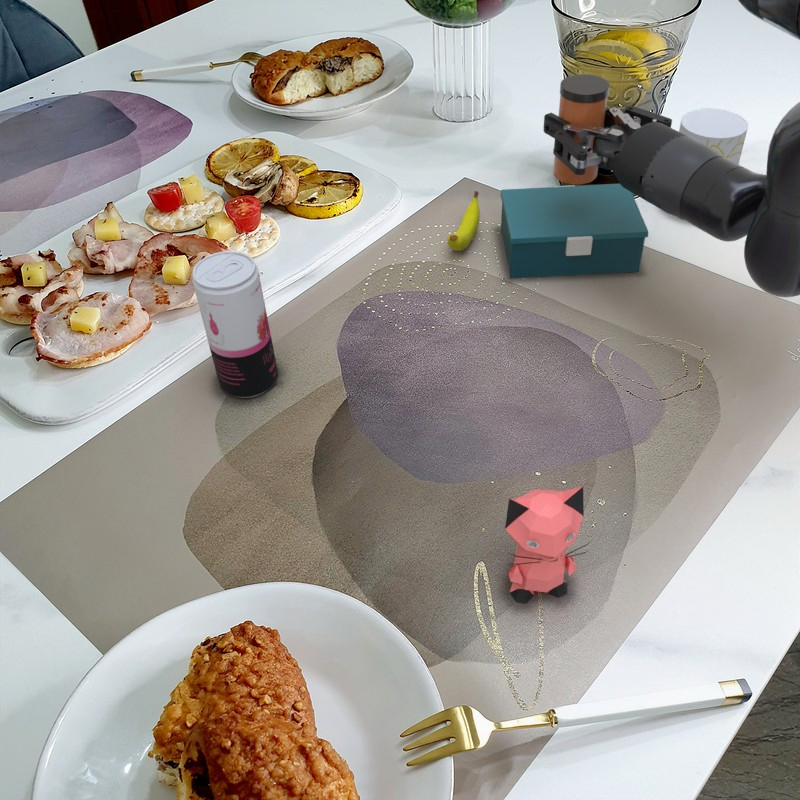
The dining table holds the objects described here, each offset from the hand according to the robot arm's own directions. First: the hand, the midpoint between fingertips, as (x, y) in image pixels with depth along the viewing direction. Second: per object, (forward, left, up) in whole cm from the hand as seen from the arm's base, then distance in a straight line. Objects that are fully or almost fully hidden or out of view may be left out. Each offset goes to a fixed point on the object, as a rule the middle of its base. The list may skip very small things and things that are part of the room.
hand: (566, 114), depth 100 cm
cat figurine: (+10, +52, -18) cm, 56 cm away
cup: (-20, -7, -18) cm, 28 cm away
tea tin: (-1, +2, -6) cm, 7 cm away
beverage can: (+38, +24, -18) cm, 48 cm away
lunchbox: (-1, +2, -17) cm, 18 cm away
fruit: (+12, -1, -18) cm, 21 cm away
